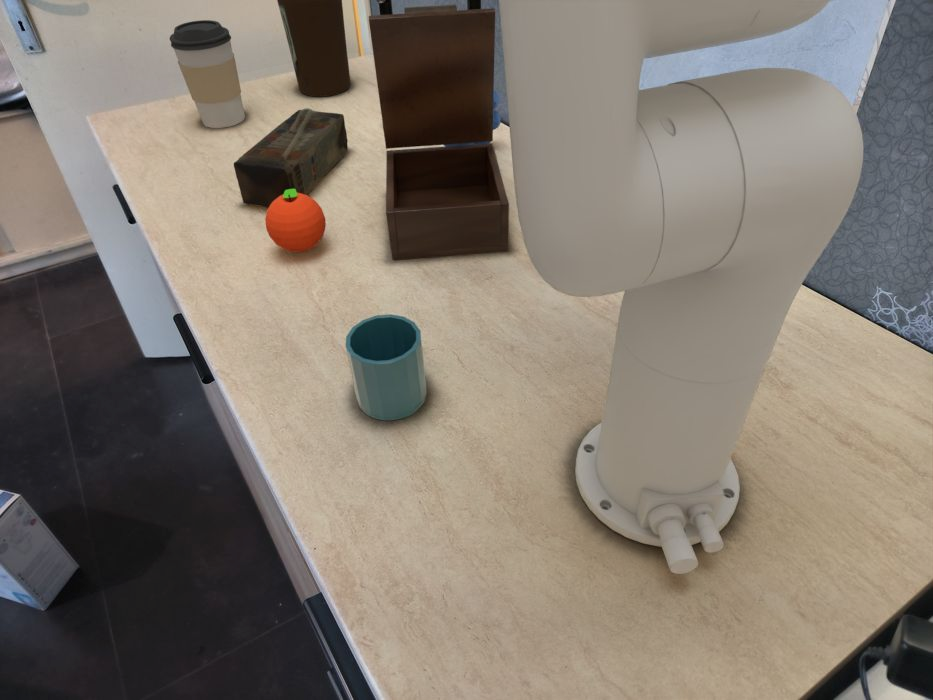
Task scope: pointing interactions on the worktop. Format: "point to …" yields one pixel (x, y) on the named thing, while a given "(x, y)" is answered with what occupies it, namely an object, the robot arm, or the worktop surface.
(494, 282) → the worktop surface
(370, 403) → the cup
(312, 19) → the olive oil
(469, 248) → the brown wooden box
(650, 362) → the robot arm
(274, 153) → the beverage carton
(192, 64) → the coffee cup
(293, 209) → the clementine
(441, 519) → the worktop surface
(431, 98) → the lid
